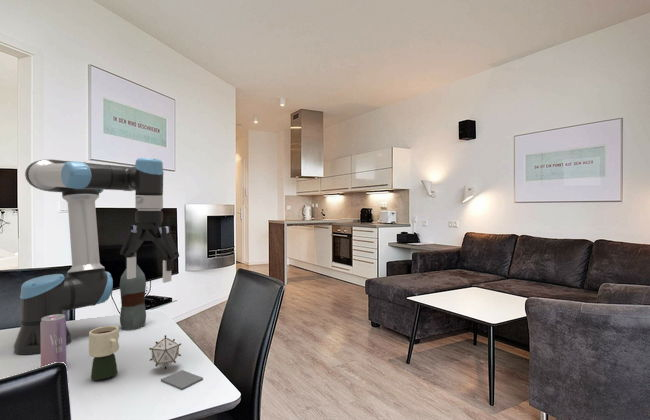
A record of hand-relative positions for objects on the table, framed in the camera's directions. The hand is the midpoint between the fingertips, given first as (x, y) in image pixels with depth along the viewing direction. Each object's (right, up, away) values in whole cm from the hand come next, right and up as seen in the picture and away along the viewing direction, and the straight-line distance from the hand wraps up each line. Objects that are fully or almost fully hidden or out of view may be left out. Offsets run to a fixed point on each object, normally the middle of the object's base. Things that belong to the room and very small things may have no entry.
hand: (148, 280), depth 110 cm
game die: (+8, -25, -6) cm, 27 cm away
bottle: (-22, -25, +32) cm, 46 cm away
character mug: (-7, -25, -10) cm, 28 cm away
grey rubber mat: (+15, -25, -13) cm, 31 cm away
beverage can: (-25, -25, -5) cm, 36 cm away
